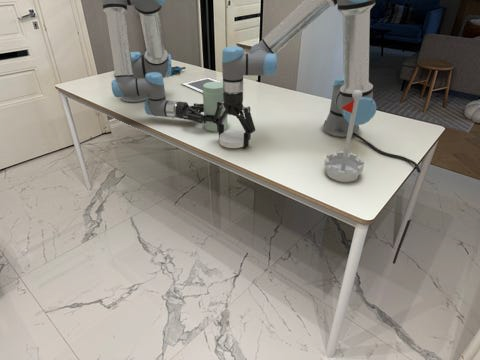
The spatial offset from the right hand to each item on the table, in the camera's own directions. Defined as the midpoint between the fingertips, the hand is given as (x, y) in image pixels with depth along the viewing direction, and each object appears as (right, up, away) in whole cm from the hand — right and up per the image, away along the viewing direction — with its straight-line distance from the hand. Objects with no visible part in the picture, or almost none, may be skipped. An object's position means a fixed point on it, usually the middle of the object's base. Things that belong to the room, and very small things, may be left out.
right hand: (233, 143), depth 139 cm
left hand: (-4, +14, +11) cm, 18 cm away
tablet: (-15, +40, +62) cm, 75 cm away
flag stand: (+39, -13, -19) cm, 45 cm away
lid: (0, +2, -2) cm, 3 cm away
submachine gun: (-52, +56, +86) cm, 115 cm away
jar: (-8, +9, +15) cm, 19 cm away
